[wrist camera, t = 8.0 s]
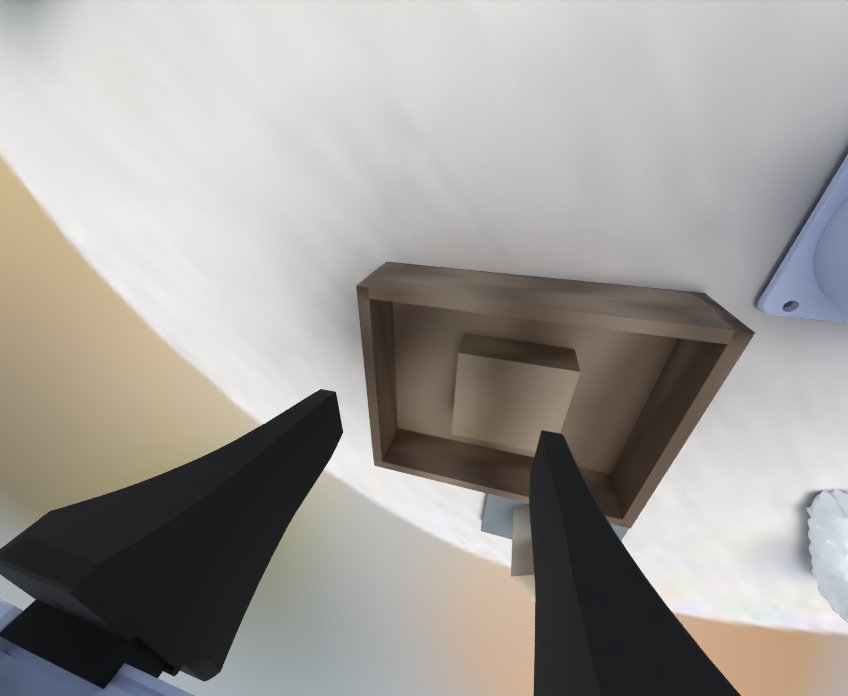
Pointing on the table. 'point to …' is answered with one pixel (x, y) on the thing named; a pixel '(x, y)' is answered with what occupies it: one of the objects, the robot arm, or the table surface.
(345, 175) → the table surface
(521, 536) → the metal block
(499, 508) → the slate mat
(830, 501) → the white creature statuette
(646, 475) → the walnut crate
